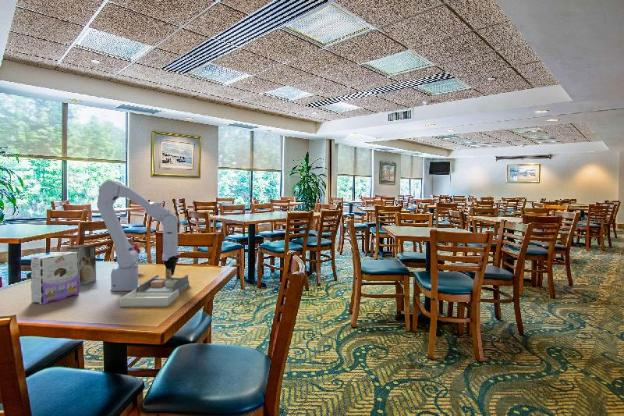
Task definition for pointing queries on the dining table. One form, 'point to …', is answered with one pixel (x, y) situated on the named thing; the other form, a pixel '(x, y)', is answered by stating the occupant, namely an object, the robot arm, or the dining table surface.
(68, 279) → the candy box
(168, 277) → the pale grey block
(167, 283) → the sage tile
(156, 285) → the terracotta tile
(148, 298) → the box
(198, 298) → the dining table surface
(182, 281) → the plate
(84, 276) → the coffee box
